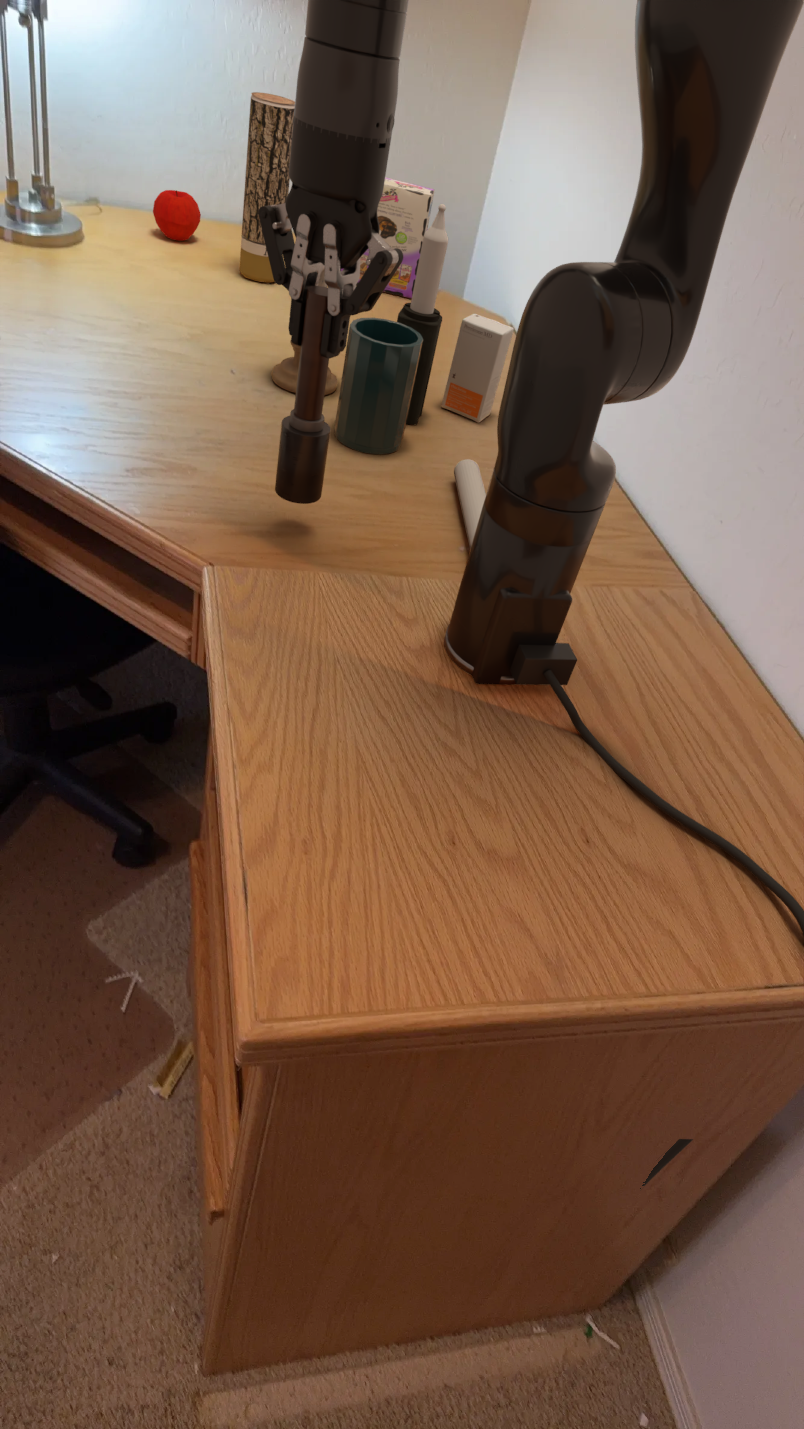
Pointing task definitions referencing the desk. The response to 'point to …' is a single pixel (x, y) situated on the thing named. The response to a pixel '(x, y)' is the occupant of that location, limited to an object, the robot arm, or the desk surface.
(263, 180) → the paper tube
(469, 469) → the tube
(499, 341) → the cosmetic box
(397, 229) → the candy box
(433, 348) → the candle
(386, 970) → the desk surface
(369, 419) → the teal pencil cup
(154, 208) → the apple
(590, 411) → the robot arm
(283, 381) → the candle holder
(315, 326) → the brush
